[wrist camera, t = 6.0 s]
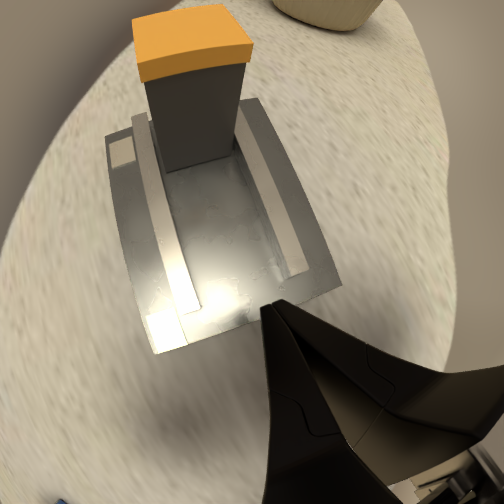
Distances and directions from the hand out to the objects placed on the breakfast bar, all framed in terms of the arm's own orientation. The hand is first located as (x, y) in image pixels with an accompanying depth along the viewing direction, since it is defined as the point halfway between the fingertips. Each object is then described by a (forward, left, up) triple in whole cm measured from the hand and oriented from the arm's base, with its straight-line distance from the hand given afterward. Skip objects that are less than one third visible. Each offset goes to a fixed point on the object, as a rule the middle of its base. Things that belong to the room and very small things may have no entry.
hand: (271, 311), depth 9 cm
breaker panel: (+6, -3, -7) cm, 10 cm away
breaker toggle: (+10, -5, -5) cm, 12 cm away
